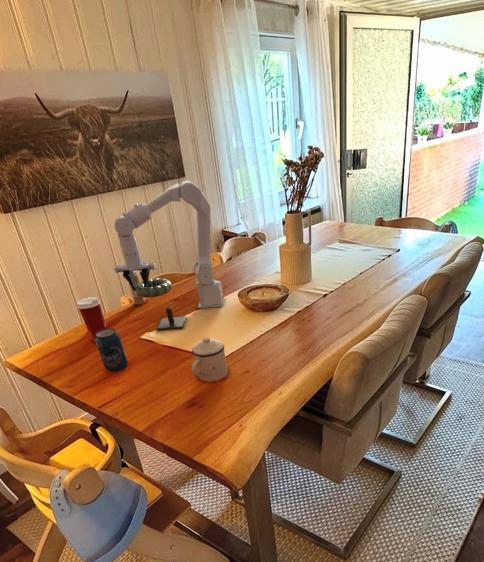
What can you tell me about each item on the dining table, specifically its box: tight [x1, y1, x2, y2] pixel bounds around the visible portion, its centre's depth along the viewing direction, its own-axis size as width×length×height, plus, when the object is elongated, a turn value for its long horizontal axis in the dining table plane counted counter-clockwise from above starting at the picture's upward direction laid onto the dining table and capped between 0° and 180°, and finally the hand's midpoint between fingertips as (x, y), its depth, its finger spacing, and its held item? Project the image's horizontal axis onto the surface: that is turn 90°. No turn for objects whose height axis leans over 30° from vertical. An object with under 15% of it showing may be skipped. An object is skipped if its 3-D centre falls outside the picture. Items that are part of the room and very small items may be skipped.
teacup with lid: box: [190, 336, 229, 383], centre depth 121 cm, size 12×9×12 cm
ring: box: [135, 277, 173, 299], centre depth 160 cm, size 13×13×4 cm
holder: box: [156, 306, 187, 332], centre depth 155 cm, size 9×9×6 cm
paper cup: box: [76, 296, 108, 343], centre depth 148 cm, size 8×8×14 cm
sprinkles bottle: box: [128, 271, 146, 306], centre depth 175 cm, size 5×5×13 cm
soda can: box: [95, 327, 129, 373], centre depth 129 cm, size 7×7×12 cm
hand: (141, 289), depth 160 cm, fingers closed on ring, 4 cm apart
